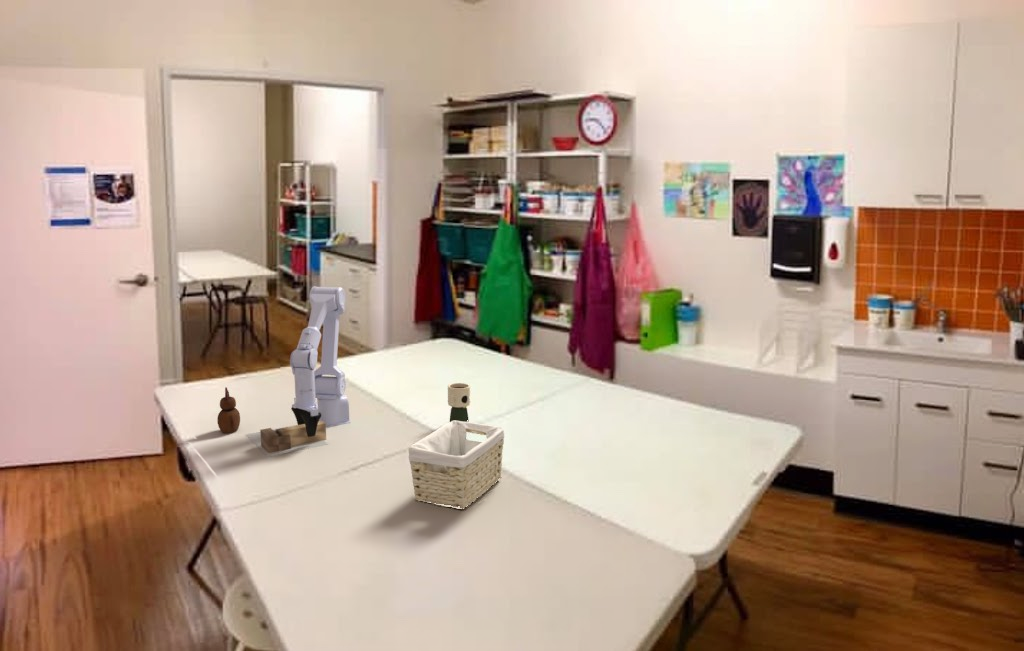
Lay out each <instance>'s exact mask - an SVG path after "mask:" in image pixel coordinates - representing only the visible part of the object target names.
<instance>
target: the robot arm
mask: <svg viewBox="0 0 1024 651" xmlns="http://www.w3.org/2000/svg"><path fill="white" fill-rule="evenodd" d="M345 292H346V291H345V290H344V288H342V287H341V286H338V287H335V286H334V287H333V286H331V287H329V286H316V285H314V286H312V288H311V289H310V291H309V295H308V296H309V298H308V299H309V304H310V307H311V311H310V315H309V319H308V325H307V327H305V328H303V329H302V331H301V334H300V337H299V340H298V344H297V347H296V348H295V349H294V350H293V351H292V352H291V354H290V358H289V359H290V360H289V364H290V368H291V372H292V375H294V392H295V393H294V394H295V397H294V398H293V400H294V404H291V407H290V408H291V409H290V410H291V412H293V414H294V417H295V420H296V423H297V424H296V425H301V424H305V426H306V432H307V436H308V437H311V436H315V434H316V429H317V425H318V422H319V421H323V422H324V423H326V428H329V427H336V426H340V425H346V424H351V421H350V404H349V403H350V402H349V399H348V397H347V395H346V394H345V391H346V388H347V387H346V385H347V384H346V383H347V382H346V375H345V372H344V371H343V370H342V369H341V368H339V367H338V366H337V365H338V351H339V350H338V349H339V348H338V346H339V335H340V334H339V332H340V317H341V315H342V314H344V313H345V310H346V293H345ZM322 326H323V328H322ZM321 328H322V333H321V331H320V330H321ZM321 338H322V341H321ZM320 341H321V342H322V343H321V362H320V366H319V367H318V368H316V366H317V365H318V354H319V352H318V348H319V345H320ZM315 368H316V369H315ZM316 399H317V401H316Z"/></svg>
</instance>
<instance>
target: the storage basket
mask: <svg viewBox="0 0 1024 651" xmlns="http://www.w3.org/2000/svg"><path fill="white" fill-rule="evenodd" d="M467 433H471V434H476V435H480V436H486V439H485V440H483V441H476V440H469V439H467ZM504 438H505V433H504V429H503V428H502V427H501V426H500V427H498V426H494V425H489V424H483V423H477V422H476V423H475V422H470V421H469V422H468V421H467V422H462V421H456V420H454V421H451V422H450V421H449V422H448V423H446V424H444V425H442V426H441V427H439V428H437V429H436V430H434V431H433V432H431V433H430V434H428V435H427V436H424V437H423V438H421V439H419V440H418V441H416V442H415V443H413V444H411V445H410V446H409V447H408V460H409V464H410V469H411V477H412V484H413V485H412V486H413V490H414V499H415V500H416V501H417V500H418V501H417V502H419V501H425V502H431V503H436V504H444V505H451V506H453V507H458V506H460V508H462V509H463V508H465V507H466V506H467V505H469V504H470V505H472V504H473V503H474V502H476V501H477V499H476V498H477V497H479V498H481V497H482V496H483V495H482V494H485V493H486V492H487V491H488V490H490V488H492V487H493V486H494V485H495V484H496V483H495V482H496V481H498V479H499V478H500V479H502V464H503V462H502V460H503V450H504V449H503V448H504V441H505V440H504ZM498 482H499V481H498ZM494 483H495V484H494ZM492 485H493V486H492ZM491 486H492V487H491ZM487 489H488V490H487ZM486 490H487V491H486ZM473 501H474V502H473ZM472 502H473V503H472ZM471 503H472V504H471Z"/></svg>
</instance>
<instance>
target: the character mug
mask: <svg viewBox="0 0 1024 651" xmlns="http://www.w3.org/2000/svg"><path fill="white" fill-rule="evenodd" d="M470 396H471V386H470V384H469V383H464V382H454V383H450V384H448V385H447V404H448V406H449V407H450V413H449V423H450V422H451V421H454V420H456V421H462V422H470V421H469V420H470V419H469V413H468V406H470V403H471V400H470V399H471V398H470ZM467 420H468V421H467Z"/></svg>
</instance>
